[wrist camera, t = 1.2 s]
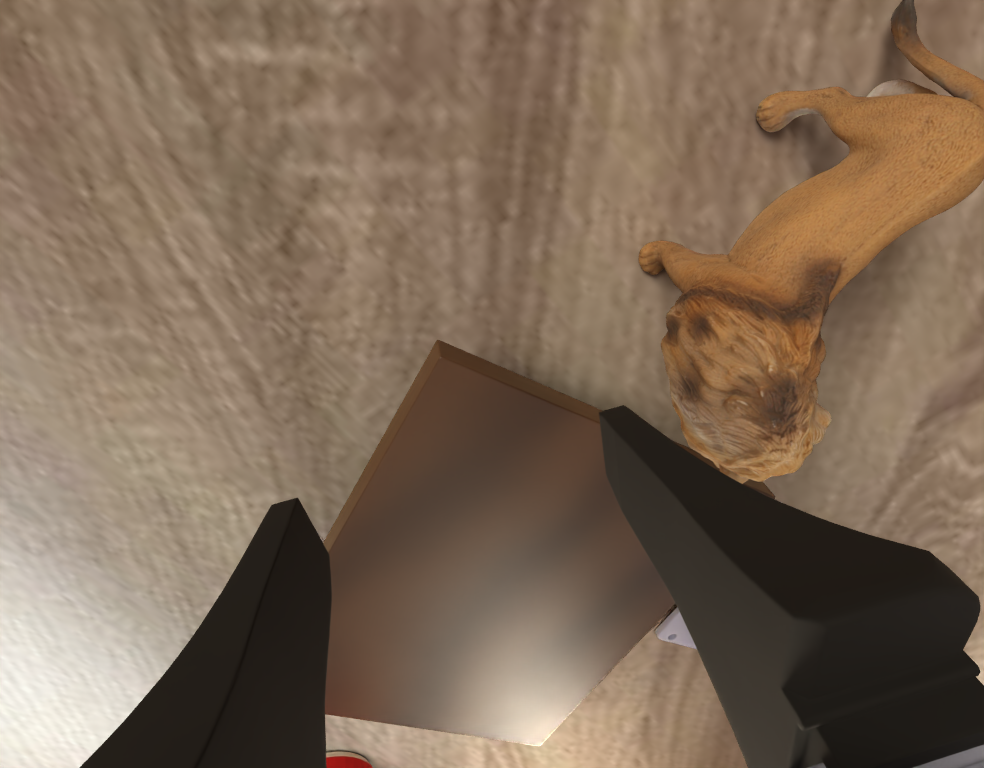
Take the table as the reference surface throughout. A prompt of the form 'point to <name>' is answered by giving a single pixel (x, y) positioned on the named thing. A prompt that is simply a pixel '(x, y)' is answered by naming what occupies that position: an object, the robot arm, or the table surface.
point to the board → (484, 561)
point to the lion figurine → (810, 259)
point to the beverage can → (346, 760)
